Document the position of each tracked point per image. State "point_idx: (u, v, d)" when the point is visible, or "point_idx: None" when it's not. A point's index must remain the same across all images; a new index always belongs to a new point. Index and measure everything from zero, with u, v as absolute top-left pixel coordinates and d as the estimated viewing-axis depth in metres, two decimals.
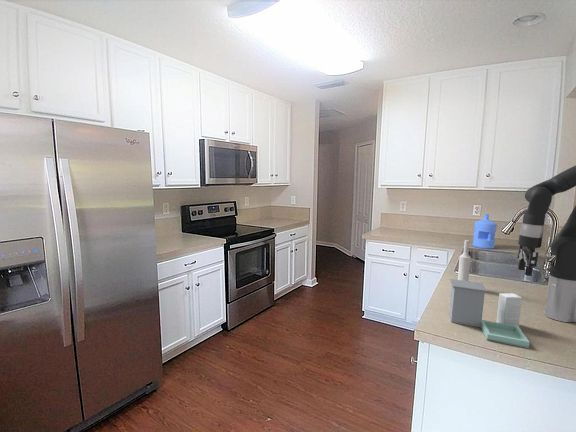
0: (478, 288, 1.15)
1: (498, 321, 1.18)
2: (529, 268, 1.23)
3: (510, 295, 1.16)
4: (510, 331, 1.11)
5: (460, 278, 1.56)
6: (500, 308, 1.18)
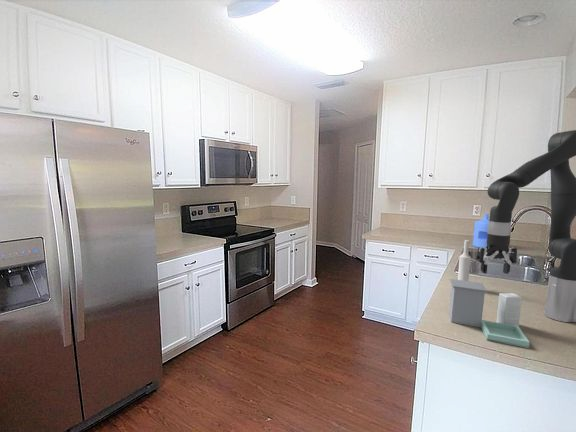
0: (478, 288, 1.15)
1: (498, 321, 1.18)
2: (481, 264, 1.21)
3: (510, 295, 1.16)
4: (510, 331, 1.11)
5: (460, 278, 1.56)
6: (500, 308, 1.18)
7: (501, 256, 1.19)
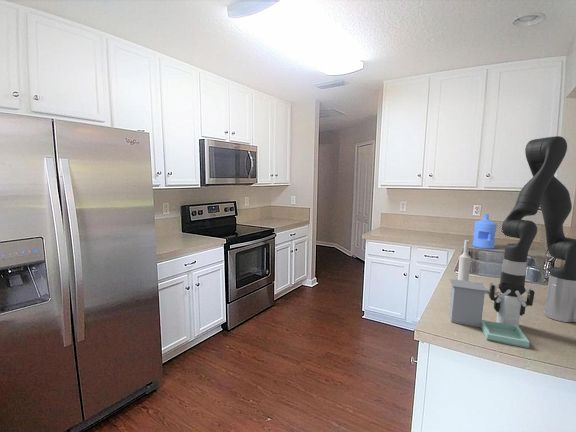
0: (478, 288, 1.15)
1: (498, 321, 1.18)
2: (494, 302, 1.19)
3: None
4: (510, 331, 1.11)
5: (460, 278, 1.56)
6: (500, 308, 1.18)
7: (514, 295, 1.15)
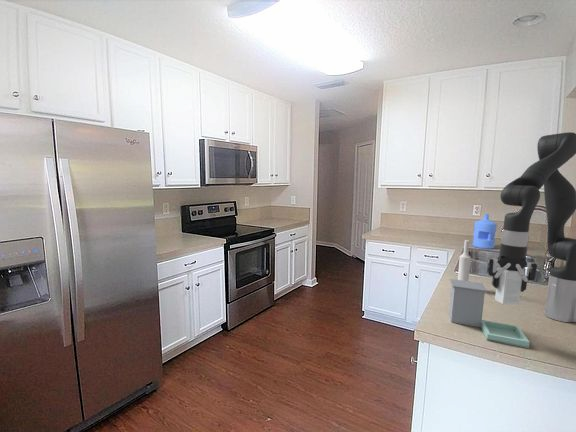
0: (478, 288, 1.15)
1: (497, 298, 1.08)
2: (493, 278, 1.09)
3: None
4: (510, 331, 1.11)
5: (460, 278, 1.56)
6: (499, 284, 1.08)
7: (515, 270, 1.05)
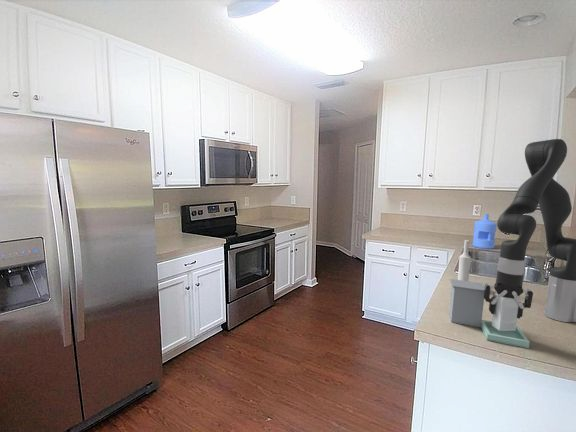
0: (478, 288, 1.15)
1: (493, 324, 1.10)
2: (489, 304, 1.10)
3: None
4: (510, 331, 1.11)
5: (460, 278, 1.56)
6: (495, 310, 1.09)
7: (511, 297, 1.06)
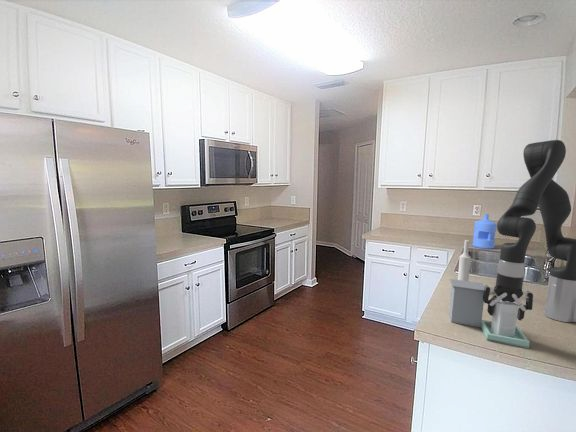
0: (478, 288, 1.15)
1: (493, 330, 1.10)
2: (488, 305, 1.10)
3: (505, 302, 1.08)
4: None
5: (460, 278, 1.56)
6: (494, 316, 1.09)
7: (512, 299, 1.06)
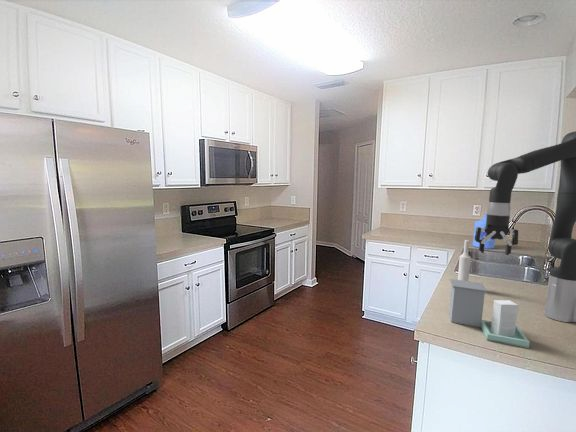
0: (478, 288, 1.15)
1: (492, 330, 1.10)
2: (479, 244, 1.24)
3: (505, 302, 1.08)
4: None
5: (460, 278, 1.56)
6: (494, 316, 1.09)
7: (500, 237, 1.20)
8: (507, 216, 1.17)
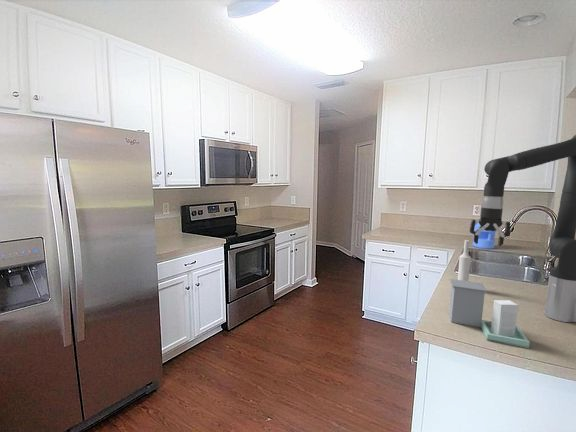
0: (478, 288, 1.15)
1: (492, 330, 1.10)
2: (474, 235, 1.32)
3: (505, 302, 1.07)
4: None
5: (460, 278, 1.56)
6: (494, 316, 1.09)
7: (493, 228, 1.28)
8: (500, 209, 1.25)
